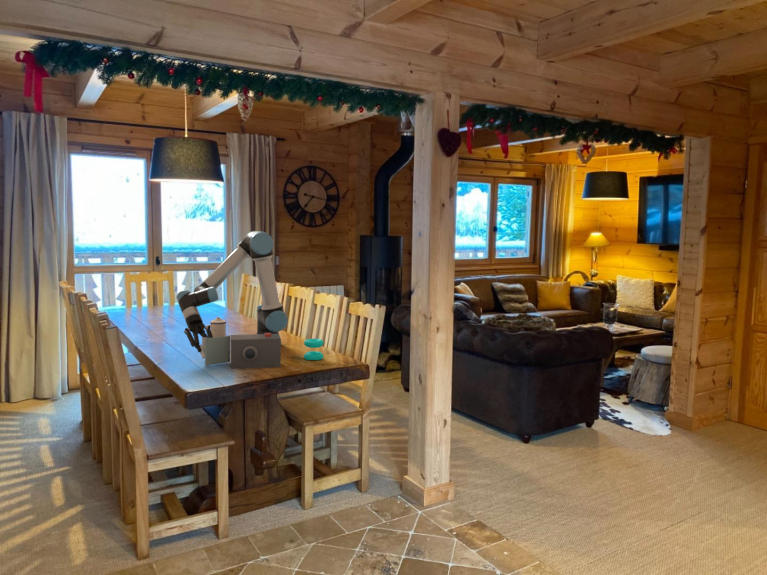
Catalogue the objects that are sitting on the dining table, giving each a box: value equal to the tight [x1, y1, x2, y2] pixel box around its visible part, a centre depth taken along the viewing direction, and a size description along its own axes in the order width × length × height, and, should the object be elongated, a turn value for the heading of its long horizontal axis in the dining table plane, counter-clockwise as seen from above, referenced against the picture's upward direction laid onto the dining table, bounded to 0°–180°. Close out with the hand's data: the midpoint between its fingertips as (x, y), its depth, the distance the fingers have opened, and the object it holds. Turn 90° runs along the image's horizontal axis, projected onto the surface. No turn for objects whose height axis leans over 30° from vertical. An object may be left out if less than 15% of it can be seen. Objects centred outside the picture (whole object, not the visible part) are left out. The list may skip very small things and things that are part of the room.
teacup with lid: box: [206, 316, 227, 337], centre depth 362 cm, size 12×9×12 cm
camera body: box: [230, 333, 282, 370], centre depth 295 cm, size 14×23×15 cm, turn 106°
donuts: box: [303, 338, 325, 361], centre depth 312 cm, size 10×10×10 cm
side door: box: [201, 335, 231, 367], centre depth 297 cm, size 13×7×13 cm, turn 132°
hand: (208, 356), depth 295 cm, fingers open, 4 cm apart
